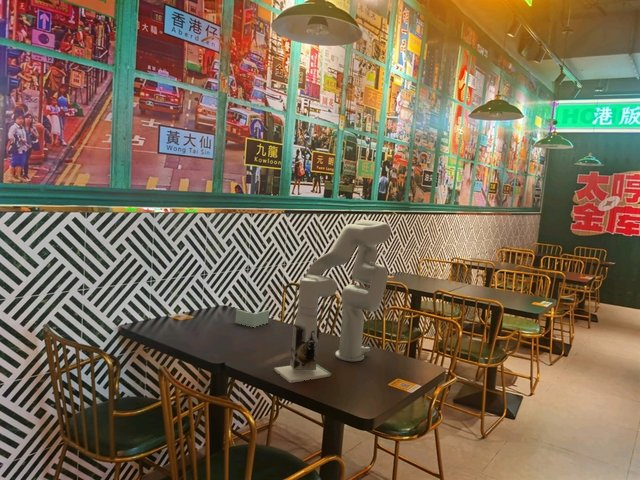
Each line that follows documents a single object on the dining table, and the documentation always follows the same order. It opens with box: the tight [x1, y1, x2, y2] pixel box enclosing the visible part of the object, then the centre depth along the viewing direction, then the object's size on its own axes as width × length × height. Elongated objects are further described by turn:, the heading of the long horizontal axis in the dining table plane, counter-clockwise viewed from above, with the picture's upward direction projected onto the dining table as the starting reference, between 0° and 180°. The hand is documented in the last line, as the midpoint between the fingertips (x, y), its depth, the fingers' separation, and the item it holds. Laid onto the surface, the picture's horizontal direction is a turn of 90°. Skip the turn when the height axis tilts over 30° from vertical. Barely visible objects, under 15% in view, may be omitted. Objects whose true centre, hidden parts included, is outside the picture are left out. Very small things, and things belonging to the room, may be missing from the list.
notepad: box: [273, 363, 332, 384], centre depth 183 cm, size 18×13×1 cm
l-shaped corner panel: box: [234, 309, 270, 328], centre depth 246 cm, size 12×12×8 cm
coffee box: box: [289, 324, 320, 371], centre depth 182 cm, size 9×6×16 cm
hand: (304, 354), depth 183 cm, fingers open, 7 cm apart
